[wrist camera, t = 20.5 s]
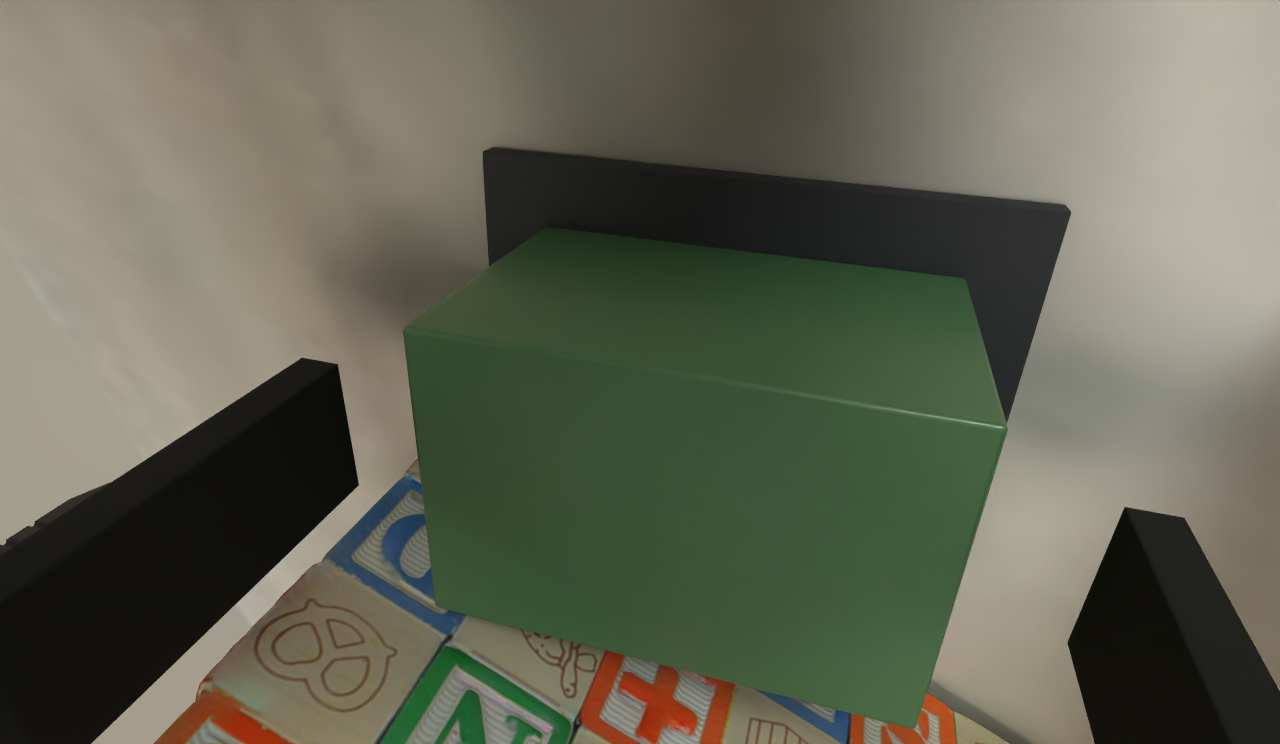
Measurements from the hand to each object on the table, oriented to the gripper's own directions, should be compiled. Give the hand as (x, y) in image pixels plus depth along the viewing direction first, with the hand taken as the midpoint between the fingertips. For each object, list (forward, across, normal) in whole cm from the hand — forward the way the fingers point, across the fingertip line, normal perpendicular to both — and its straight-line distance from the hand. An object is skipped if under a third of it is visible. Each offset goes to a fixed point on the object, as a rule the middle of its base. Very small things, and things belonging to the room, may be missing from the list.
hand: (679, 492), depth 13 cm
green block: (+5, 0, 0) cm, 5 cm away
